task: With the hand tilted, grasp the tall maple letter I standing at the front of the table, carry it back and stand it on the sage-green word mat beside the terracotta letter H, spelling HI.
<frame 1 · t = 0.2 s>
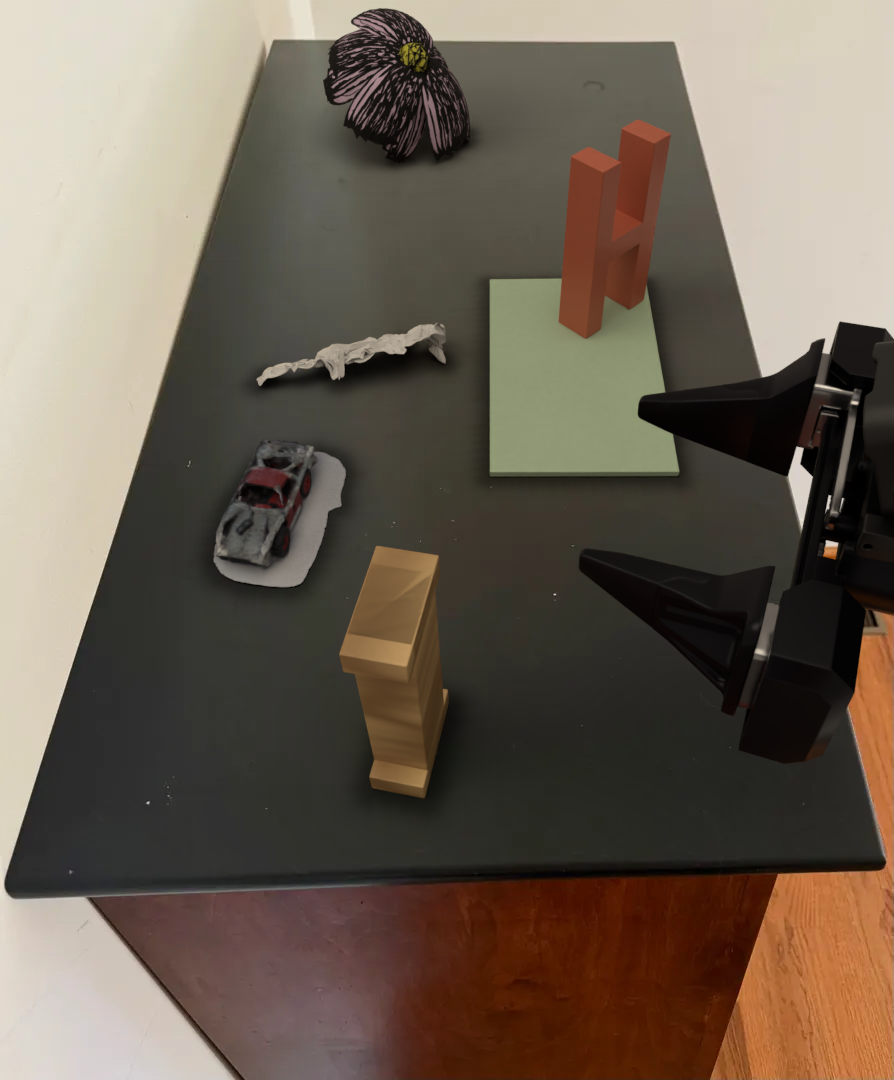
hand: (611, 477, 38), 18 cm above the table, tool horizontal, fingers open, 9 cm apart
letter I: (411, 743, 51), on the table
toy car: (282, 518, 62), on the table
decorative flower: (404, 138, 93), on the table
word mat: (574, 370, 70), on the table
paper: (353, 372, 71), on the table
letter H: (601, 311, 73), resting on word mat
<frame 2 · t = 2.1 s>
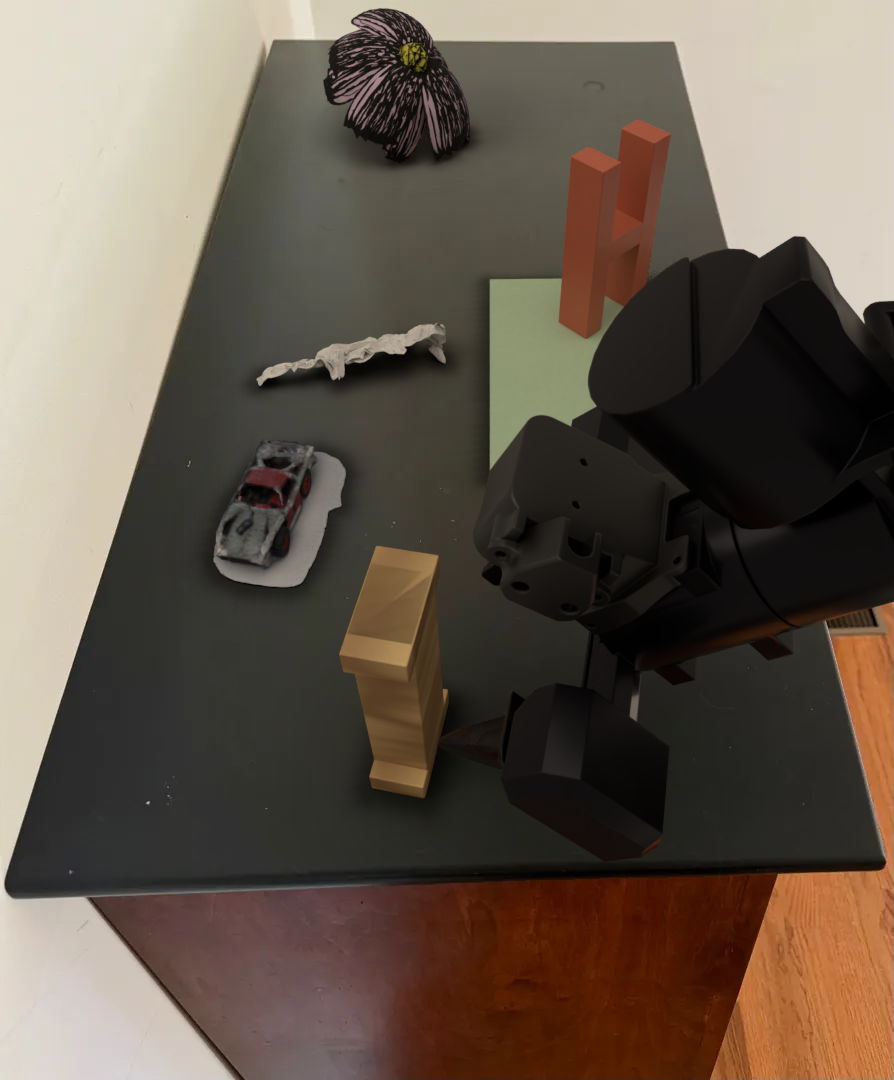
hand: (468, 657, 42), 11 cm above the table, tool tilted 45°, fingers open, 9 cm apart
nothing on the table moved.
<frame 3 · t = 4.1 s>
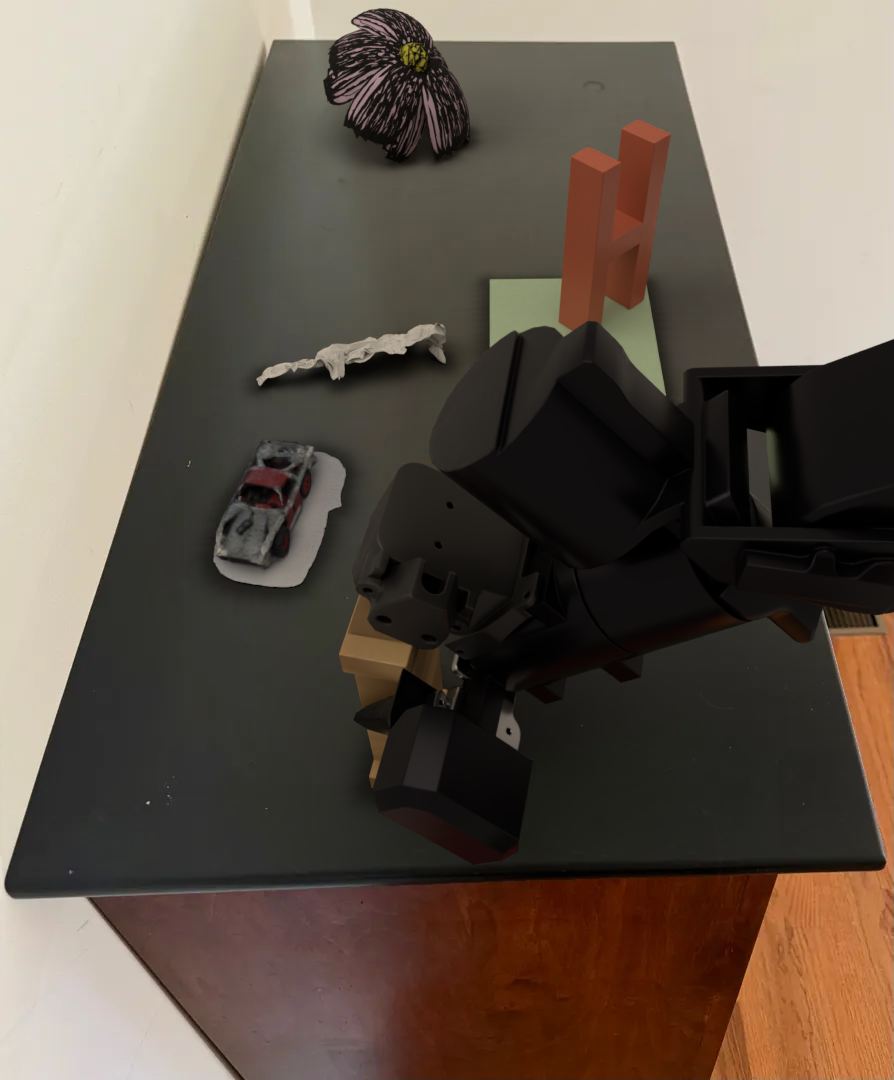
hand: (375, 675, 46), 7 cm above the table, tool tilted 45°, fingers closed on letter I, 5 cm apart
letter I: (411, 743, 51), on the table, touching gripper
everything else where it was.
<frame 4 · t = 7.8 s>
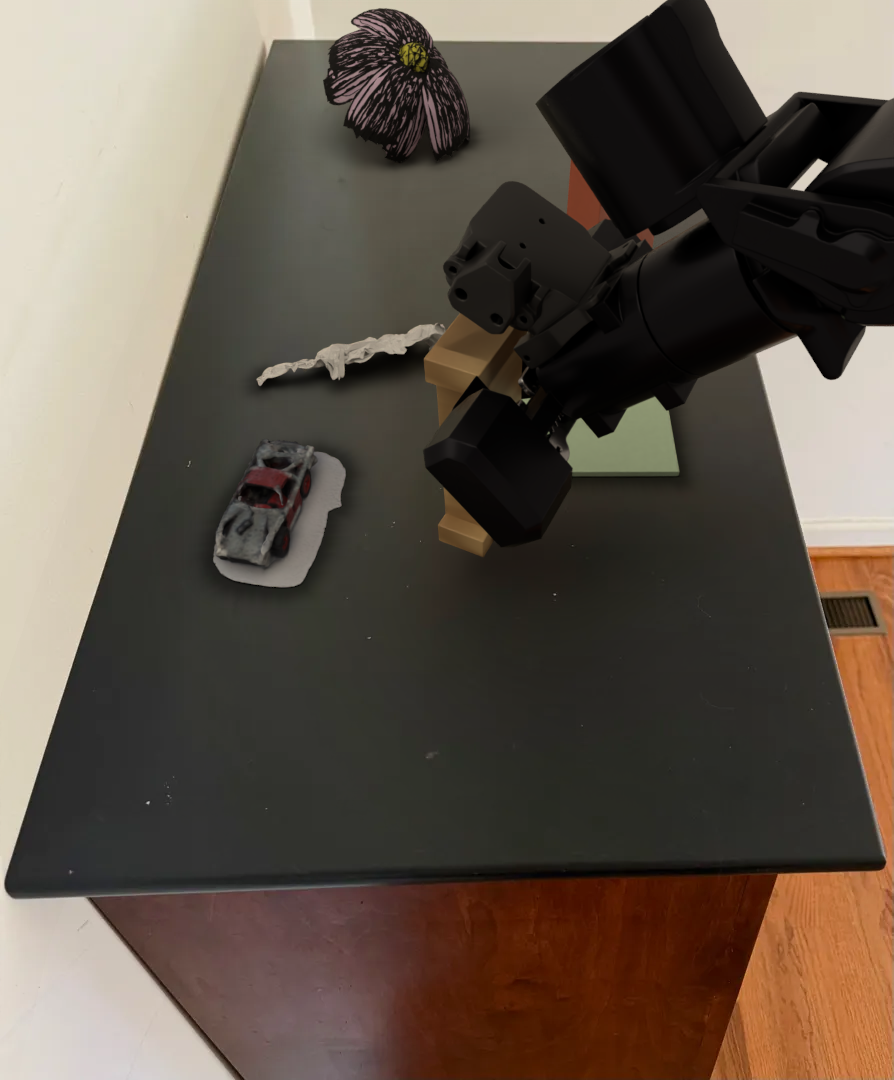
hand: (459, 423, 50), 11 cm above the table, tool tilted 45°, fingers closed on letter I, 5 cm apart
letter I: (483, 514, 55), point 4 cm above the table, touching gripper
everything else where it was.
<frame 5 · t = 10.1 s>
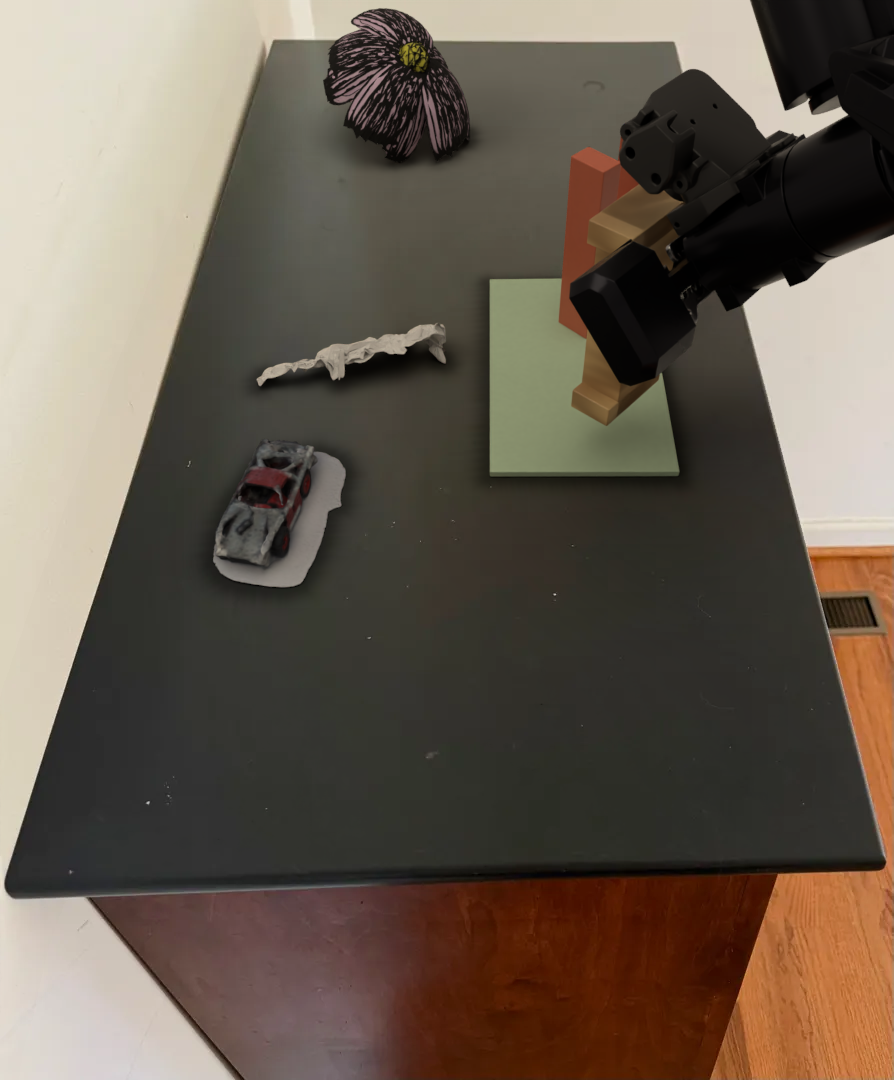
hand: (610, 298, 57), 11 cm above the table, tool tilted 45°, fingers closed on letter I, 5 cm apart
letter I: (615, 393, 62), point 4 cm above the table, touching gripper
everything else where it was.
when the fingers open (8 cm above the table, at t = 11.7 s): letter I stays where it is, resting on word mat.
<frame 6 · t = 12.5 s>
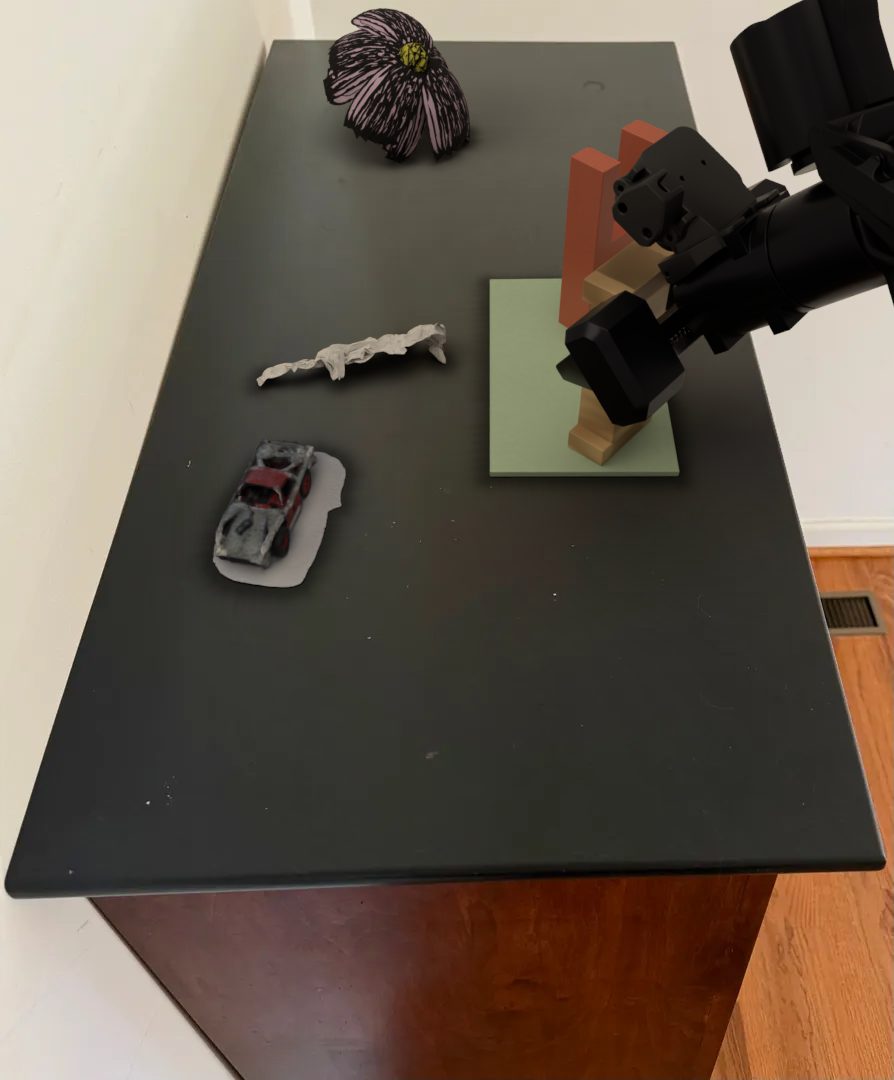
hand: (604, 335, 59), 8 cm above the table, tool tilted 45°, fingers open, 9 cm apart
letter I: (609, 433, 65), point 1 cm above the table, touching word mat
everything else where it was.
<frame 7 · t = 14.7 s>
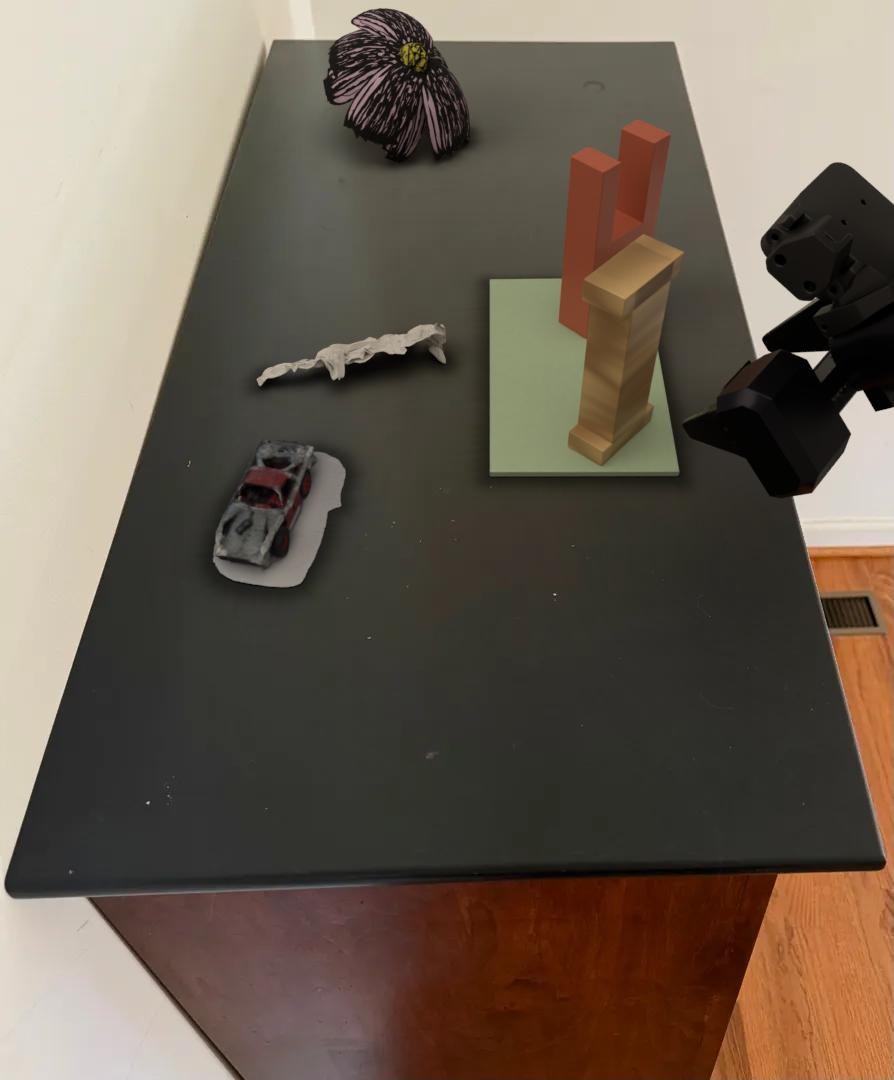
hand: (727, 385, 54), 10 cm above the table, tool tilted 45°, fingers open, 9 cm apart
nothing on the table moved.
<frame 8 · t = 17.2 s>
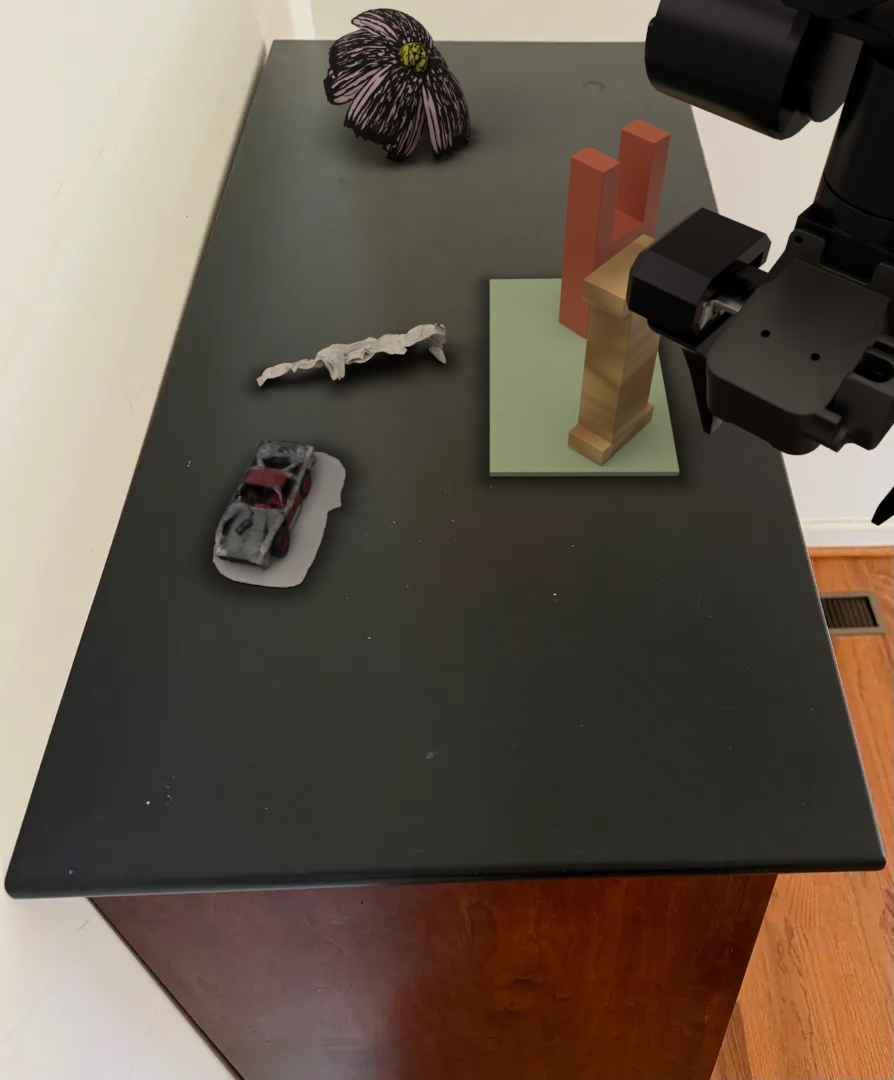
hand: (791, 472, 45), 13 cm above the table, tool pointing down, fingers open, 9 cm apart
nothing on the table moved.
at the end: letter I inside the target area on the word mat (0.1 cm from its centre), point 0.5 cm above the word mat's base; letter I tilted 0°; letter I 13.8 cm from the letter H (horizontally) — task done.
